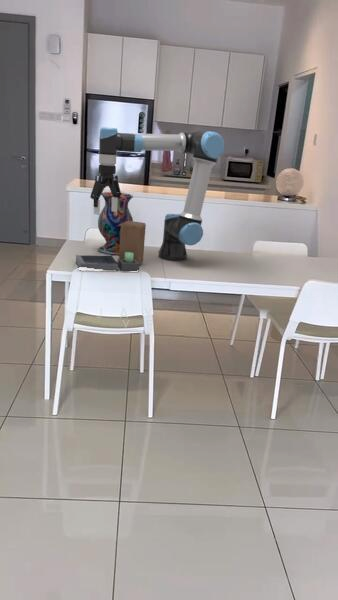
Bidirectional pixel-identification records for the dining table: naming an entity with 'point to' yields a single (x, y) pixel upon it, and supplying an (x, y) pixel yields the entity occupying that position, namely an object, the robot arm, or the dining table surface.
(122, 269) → the dark grey square block
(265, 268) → the dining table surface
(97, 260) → the dark grey tray
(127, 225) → the wooden block
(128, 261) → the plunger
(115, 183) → the robot arm
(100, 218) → the vase
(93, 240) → the dining table surface
